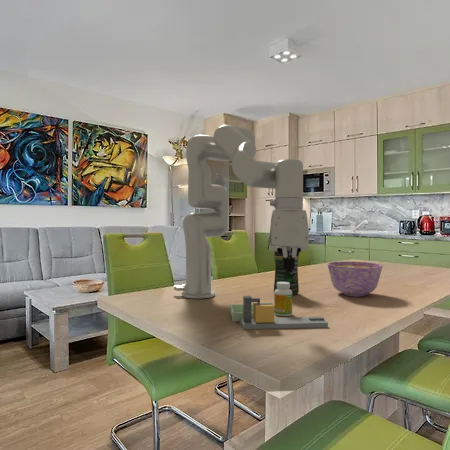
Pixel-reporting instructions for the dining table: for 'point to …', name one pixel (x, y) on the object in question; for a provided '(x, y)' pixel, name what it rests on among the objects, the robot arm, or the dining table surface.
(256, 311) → the strap block
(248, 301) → the post
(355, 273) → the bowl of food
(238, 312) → the green square tray
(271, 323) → the base plate
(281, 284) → the supplement bottle
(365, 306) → the dining table surface
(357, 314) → the dining table surface
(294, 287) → the coffee jar
